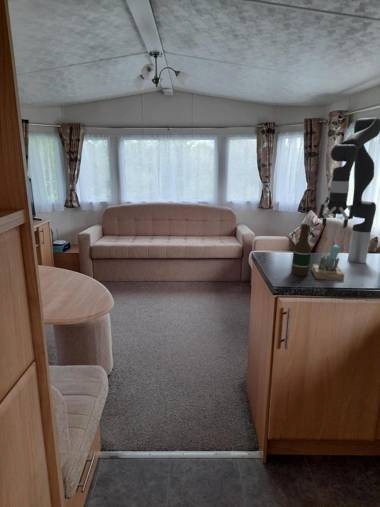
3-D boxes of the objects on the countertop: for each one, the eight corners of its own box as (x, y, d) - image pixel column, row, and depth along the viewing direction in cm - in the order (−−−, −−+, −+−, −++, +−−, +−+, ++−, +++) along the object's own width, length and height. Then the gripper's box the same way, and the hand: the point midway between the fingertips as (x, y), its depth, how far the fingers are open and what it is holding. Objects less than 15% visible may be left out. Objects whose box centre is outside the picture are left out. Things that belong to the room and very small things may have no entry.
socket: (311, 269, 170) (314, 251, 168) (337, 272, 168) (340, 254, 165) (315, 278, 157) (318, 259, 154) (343, 281, 154) (346, 261, 152)
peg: (324, 264, 162) (332, 244, 152) (331, 265, 162) (340, 245, 152) (325, 269, 160) (332, 249, 150) (332, 270, 160) (340, 250, 149)
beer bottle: (308, 272, 165) (314, 223, 159) (307, 277, 158) (314, 226, 152) (291, 270, 168) (296, 222, 162) (290, 275, 161) (296, 225, 155)
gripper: (354, 191, 153) (348, 226, 157) (320, 190, 156) (316, 225, 160) (358, 192, 146) (352, 229, 150) (323, 191, 149) (319, 227, 153)
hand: (334, 227), depth 155 cm, fingers open, 8 cm apart
